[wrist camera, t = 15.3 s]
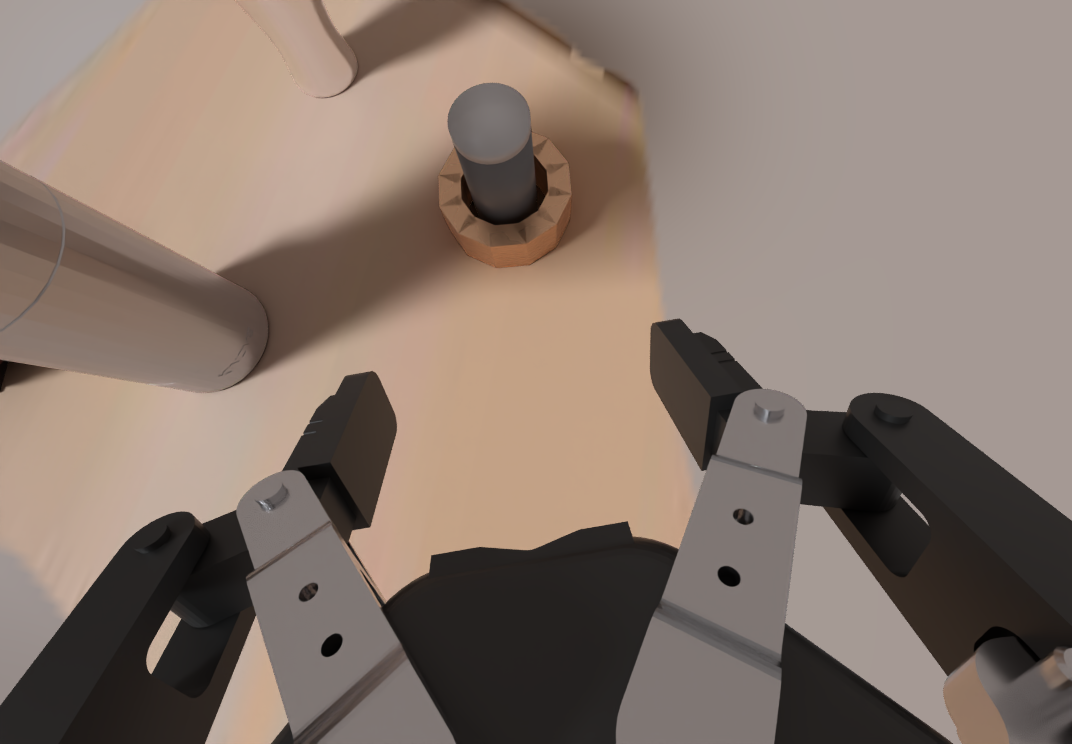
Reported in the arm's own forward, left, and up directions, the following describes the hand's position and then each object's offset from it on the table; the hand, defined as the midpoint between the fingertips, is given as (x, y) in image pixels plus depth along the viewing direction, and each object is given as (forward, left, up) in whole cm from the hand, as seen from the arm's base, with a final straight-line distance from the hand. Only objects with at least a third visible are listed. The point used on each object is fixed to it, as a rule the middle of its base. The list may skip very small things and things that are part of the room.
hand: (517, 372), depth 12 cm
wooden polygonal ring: (-10, +15, -19) cm, 26 cm away
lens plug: (-10, +15, -19) cm, 26 cm away
